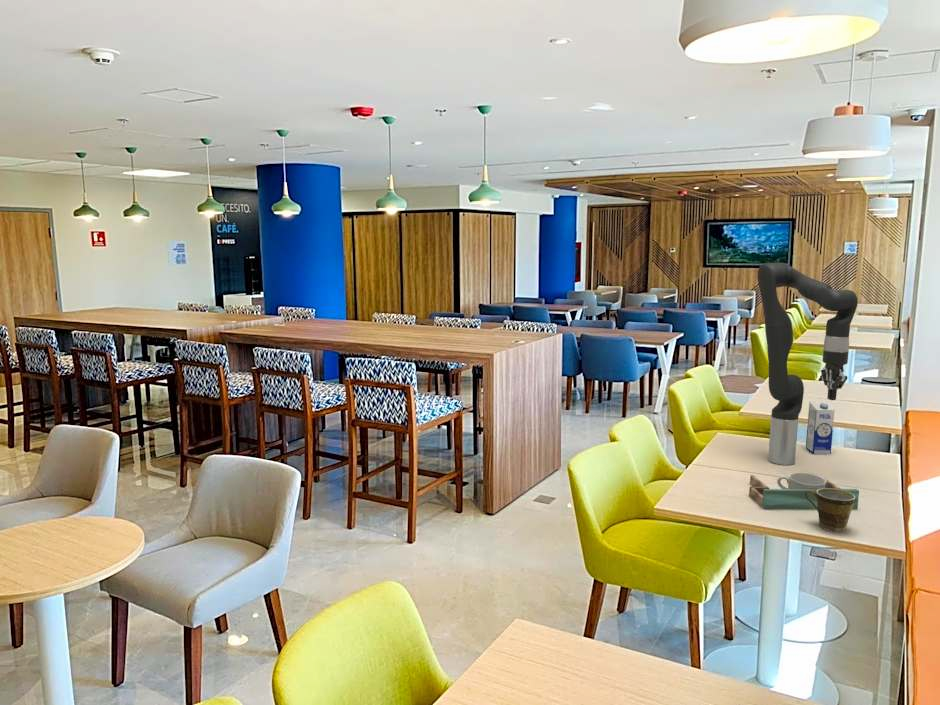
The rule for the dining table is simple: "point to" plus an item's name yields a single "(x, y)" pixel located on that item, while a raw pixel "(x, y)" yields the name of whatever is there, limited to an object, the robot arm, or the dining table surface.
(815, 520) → the dining table surface
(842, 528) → the ceramic cup
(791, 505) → the teal wooden tray
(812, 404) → the milk carton
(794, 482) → the teacup
